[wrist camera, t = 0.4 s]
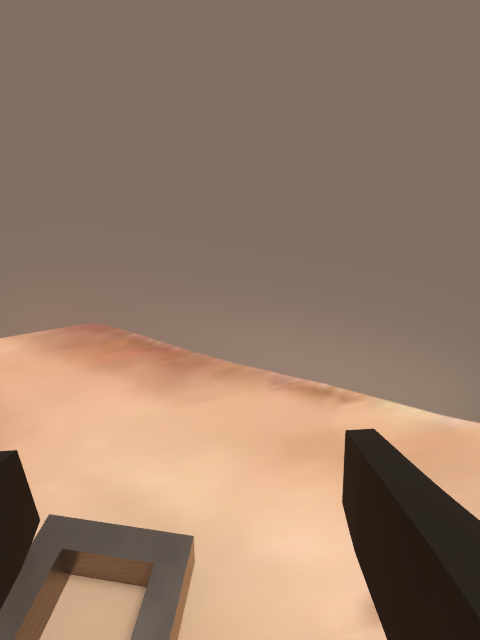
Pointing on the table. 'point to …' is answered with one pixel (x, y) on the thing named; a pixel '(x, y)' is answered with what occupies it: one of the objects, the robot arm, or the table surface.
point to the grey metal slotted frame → (101, 574)
